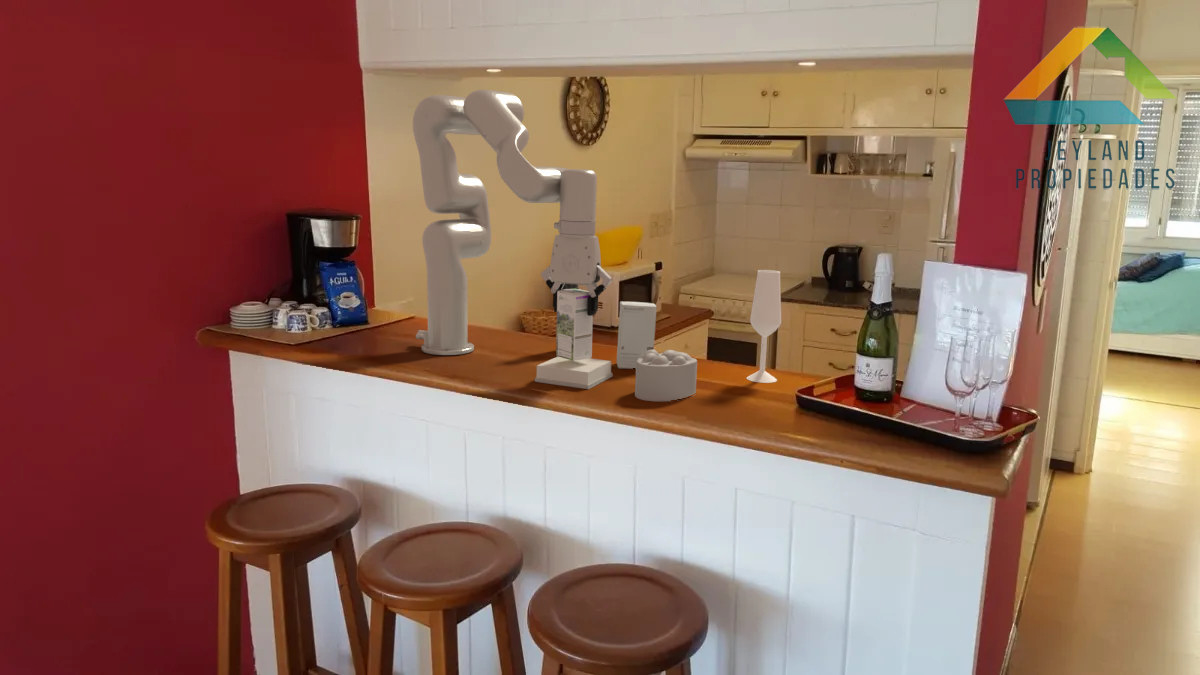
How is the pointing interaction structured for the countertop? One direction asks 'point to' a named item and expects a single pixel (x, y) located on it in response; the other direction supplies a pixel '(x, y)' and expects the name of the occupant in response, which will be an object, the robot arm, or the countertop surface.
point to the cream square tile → (574, 372)
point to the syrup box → (573, 325)
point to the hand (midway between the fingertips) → (575, 312)
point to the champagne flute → (765, 316)
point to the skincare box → (635, 332)
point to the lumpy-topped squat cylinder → (665, 376)
